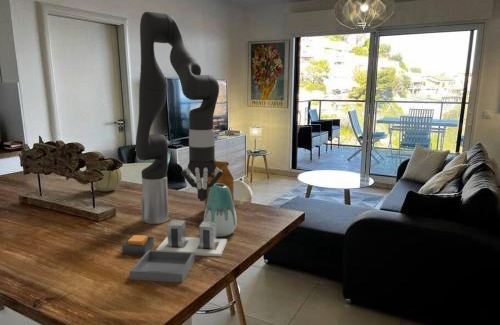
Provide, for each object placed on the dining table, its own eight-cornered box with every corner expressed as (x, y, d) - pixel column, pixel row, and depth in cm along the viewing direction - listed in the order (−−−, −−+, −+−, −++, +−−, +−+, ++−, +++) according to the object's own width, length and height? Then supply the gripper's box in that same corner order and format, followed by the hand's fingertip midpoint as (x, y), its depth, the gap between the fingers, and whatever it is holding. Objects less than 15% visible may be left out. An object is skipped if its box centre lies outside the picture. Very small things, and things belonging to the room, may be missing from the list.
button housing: (123, 257, 111) (122, 245, 110) (132, 247, 118) (132, 236, 117) (145, 259, 110) (144, 246, 109) (153, 249, 117) (153, 237, 116)
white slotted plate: (155, 256, 112) (155, 250, 112) (167, 241, 123) (167, 236, 122) (220, 260, 110) (220, 253, 109) (227, 244, 121) (226, 239, 120)
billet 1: (168, 252, 115) (167, 225, 113) (172, 246, 119) (171, 220, 117) (181, 253, 114) (181, 225, 112) (186, 247, 119) (185, 220, 117)
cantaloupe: (92, 188, 188) (90, 159, 185) (122, 186, 192) (121, 157, 189) (89, 196, 174) (86, 165, 171) (122, 193, 178) (120, 163, 175)
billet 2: (199, 254, 114) (199, 226, 112) (203, 248, 118) (202, 221, 116) (213, 255, 113) (213, 227, 111) (216, 248, 118) (216, 222, 116)
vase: (241, 229, 134) (241, 181, 130) (229, 241, 123) (229, 190, 120) (212, 225, 138) (211, 178, 134) (198, 237, 127) (196, 186, 123)
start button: (128, 248, 112) (128, 240, 111) (134, 242, 116) (134, 235, 115) (142, 248, 111) (142, 241, 111) (148, 242, 115) (147, 235, 115)
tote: (130, 283, 96) (129, 271, 96) (149, 260, 109) (148, 249, 108) (182, 286, 95) (182, 274, 94) (195, 263, 108) (195, 252, 107)
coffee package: (221, 205, 161) (221, 156, 157) (236, 213, 151) (236, 160, 147) (201, 209, 156) (200, 158, 151) (215, 218, 145) (214, 163, 141)
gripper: (177, 146, 106) (178, 203, 109) (223, 146, 106) (223, 204, 109) (181, 142, 113) (183, 196, 116) (224, 142, 113) (225, 196, 116)
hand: (202, 200), depth 113 cm, fingers closed
